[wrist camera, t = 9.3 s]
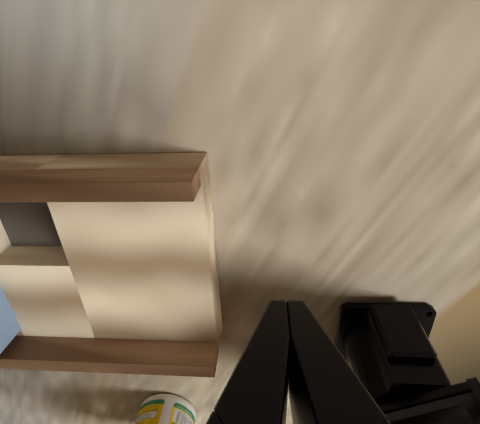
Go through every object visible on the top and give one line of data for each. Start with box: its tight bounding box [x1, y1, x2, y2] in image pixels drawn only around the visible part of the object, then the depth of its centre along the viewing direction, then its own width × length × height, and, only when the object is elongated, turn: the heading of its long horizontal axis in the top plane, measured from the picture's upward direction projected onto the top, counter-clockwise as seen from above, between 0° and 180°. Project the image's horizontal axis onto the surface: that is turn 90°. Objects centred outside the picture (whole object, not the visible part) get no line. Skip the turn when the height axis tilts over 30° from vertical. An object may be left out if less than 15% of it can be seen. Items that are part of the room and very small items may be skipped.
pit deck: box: [0, 152, 223, 377], centre depth 21 cm, size 14×20×4 cm
